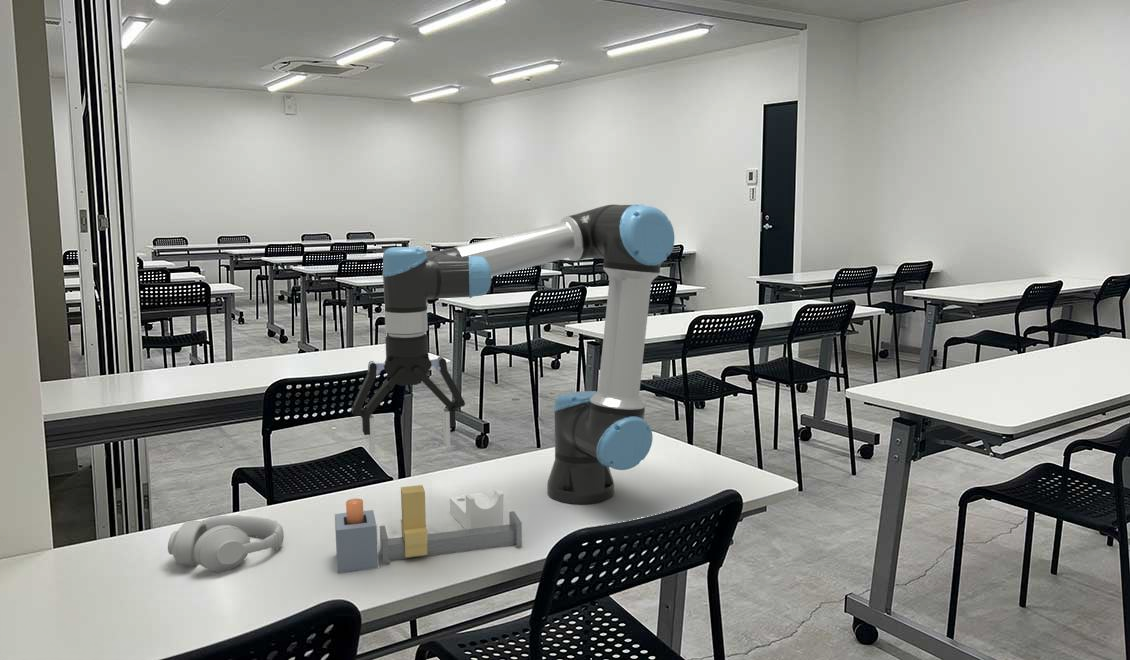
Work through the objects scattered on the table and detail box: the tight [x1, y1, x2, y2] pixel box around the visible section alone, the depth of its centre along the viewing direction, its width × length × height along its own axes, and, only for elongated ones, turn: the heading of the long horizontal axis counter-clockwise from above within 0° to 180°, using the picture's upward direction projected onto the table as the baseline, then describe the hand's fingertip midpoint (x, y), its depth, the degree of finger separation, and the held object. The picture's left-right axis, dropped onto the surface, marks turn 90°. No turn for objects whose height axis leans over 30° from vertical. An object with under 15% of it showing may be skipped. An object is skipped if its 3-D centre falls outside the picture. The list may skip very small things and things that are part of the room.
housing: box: [334, 509, 379, 574], centre depth 153 cm, size 7×8×8 cm
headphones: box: [167, 514, 285, 573], centre depth 157 cm, size 18×8×20 cm
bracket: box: [449, 489, 505, 530], centre depth 173 cm, size 13×7×8 cm, turn 26°
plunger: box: [345, 498, 364, 525], centre depth 152 cm, size 3×3×5 cm
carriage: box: [400, 484, 428, 557], centre depth 156 cm, size 4×7×12 cm, turn 17°
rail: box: [379, 510, 523, 566], centre depth 158 cm, size 26×6×5 cm, turn 107°
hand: (410, 447), depth 153 cm, fingers open, 13 cm apart
